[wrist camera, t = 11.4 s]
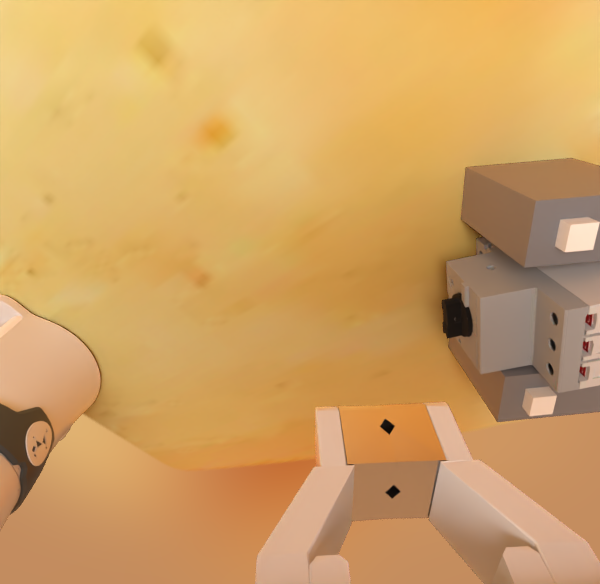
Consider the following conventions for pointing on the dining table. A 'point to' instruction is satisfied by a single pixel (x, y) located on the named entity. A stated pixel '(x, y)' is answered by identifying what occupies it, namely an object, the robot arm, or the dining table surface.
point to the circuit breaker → (526, 316)
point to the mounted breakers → (533, 262)
